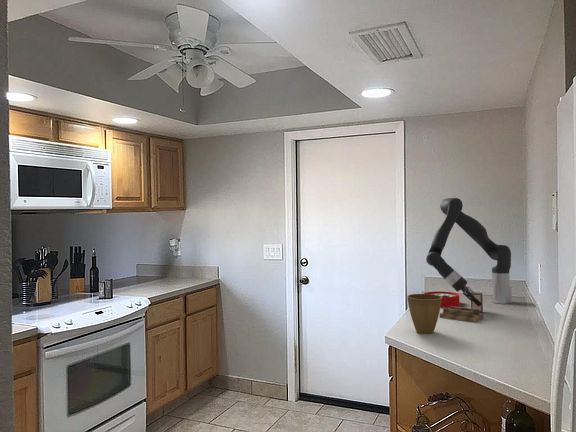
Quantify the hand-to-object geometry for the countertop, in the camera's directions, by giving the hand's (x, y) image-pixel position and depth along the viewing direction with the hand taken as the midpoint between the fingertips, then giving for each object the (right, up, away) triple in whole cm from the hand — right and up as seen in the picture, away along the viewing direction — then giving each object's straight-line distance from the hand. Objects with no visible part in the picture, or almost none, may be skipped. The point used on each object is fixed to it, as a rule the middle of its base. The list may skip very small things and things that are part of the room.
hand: (480, 304), depth 248 cm
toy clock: (-12, -5, +25) cm, 28 cm away
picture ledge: (-15, -5, -12) cm, 20 cm away
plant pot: (-40, -6, -37) cm, 55 cm away
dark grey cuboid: (-1, -4, +1) cm, 5 cm away
